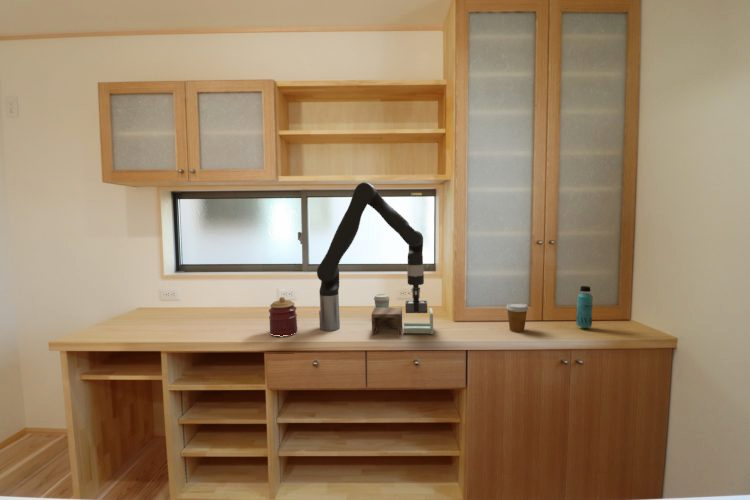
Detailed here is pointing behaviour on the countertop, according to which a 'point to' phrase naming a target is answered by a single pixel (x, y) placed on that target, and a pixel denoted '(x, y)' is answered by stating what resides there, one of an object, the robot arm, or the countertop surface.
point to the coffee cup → (381, 301)
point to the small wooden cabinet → (386, 319)
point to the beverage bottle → (584, 308)
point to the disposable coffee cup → (517, 316)
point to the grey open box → (410, 307)
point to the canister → (283, 317)
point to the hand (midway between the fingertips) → (416, 309)
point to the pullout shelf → (420, 326)
